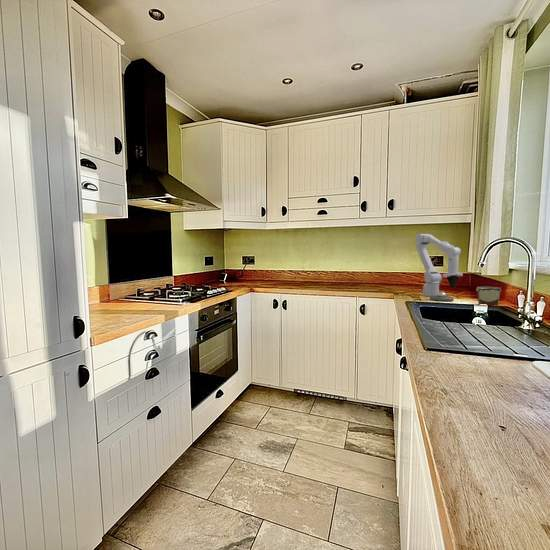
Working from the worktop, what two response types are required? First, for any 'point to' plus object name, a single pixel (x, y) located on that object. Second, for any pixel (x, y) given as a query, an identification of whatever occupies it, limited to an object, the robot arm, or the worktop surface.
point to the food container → (488, 295)
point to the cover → (441, 294)
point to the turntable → (442, 298)
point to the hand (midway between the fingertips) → (452, 287)
